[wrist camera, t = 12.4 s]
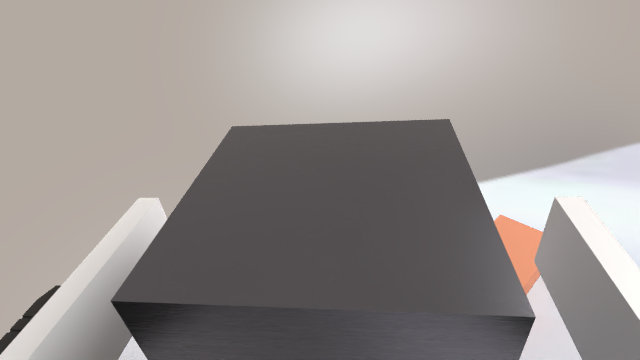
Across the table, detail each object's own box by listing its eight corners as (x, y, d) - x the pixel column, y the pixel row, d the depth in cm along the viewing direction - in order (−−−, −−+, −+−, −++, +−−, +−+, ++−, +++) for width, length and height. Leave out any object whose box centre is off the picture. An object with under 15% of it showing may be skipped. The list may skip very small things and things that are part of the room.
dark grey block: (291, 369, 18) (232, 126, 10) (418, 377, 17) (448, 119, 10) (262, 538, 13) (110, 301, 5) (438, 561, 12) (535, 316, 5)
